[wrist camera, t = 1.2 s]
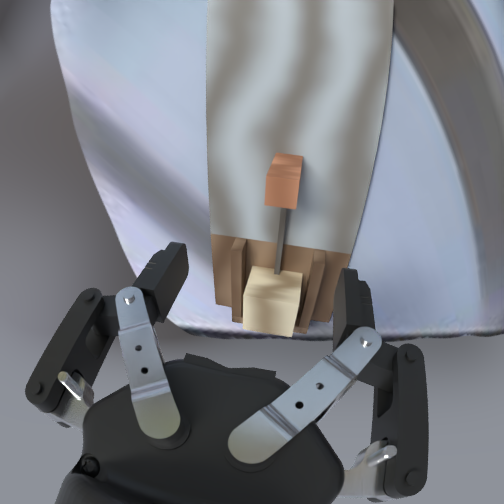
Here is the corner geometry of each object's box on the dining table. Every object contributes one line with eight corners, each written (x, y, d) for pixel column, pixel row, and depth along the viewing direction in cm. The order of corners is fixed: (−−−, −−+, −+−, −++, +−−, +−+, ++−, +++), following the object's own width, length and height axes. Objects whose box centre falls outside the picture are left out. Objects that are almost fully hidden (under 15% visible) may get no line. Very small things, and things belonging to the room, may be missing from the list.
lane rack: (391, 1, 15) (401, -6, 12) (328, 318, 38) (328, 336, 36) (211, -13, 17) (198, -21, 14) (217, 300, 41) (210, 317, 38)
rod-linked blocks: (321, 158, 25) (323, 183, 20) (295, 306, 37) (290, 343, 33) (257, 150, 26) (243, 173, 21) (251, 299, 38) (240, 335, 33)
